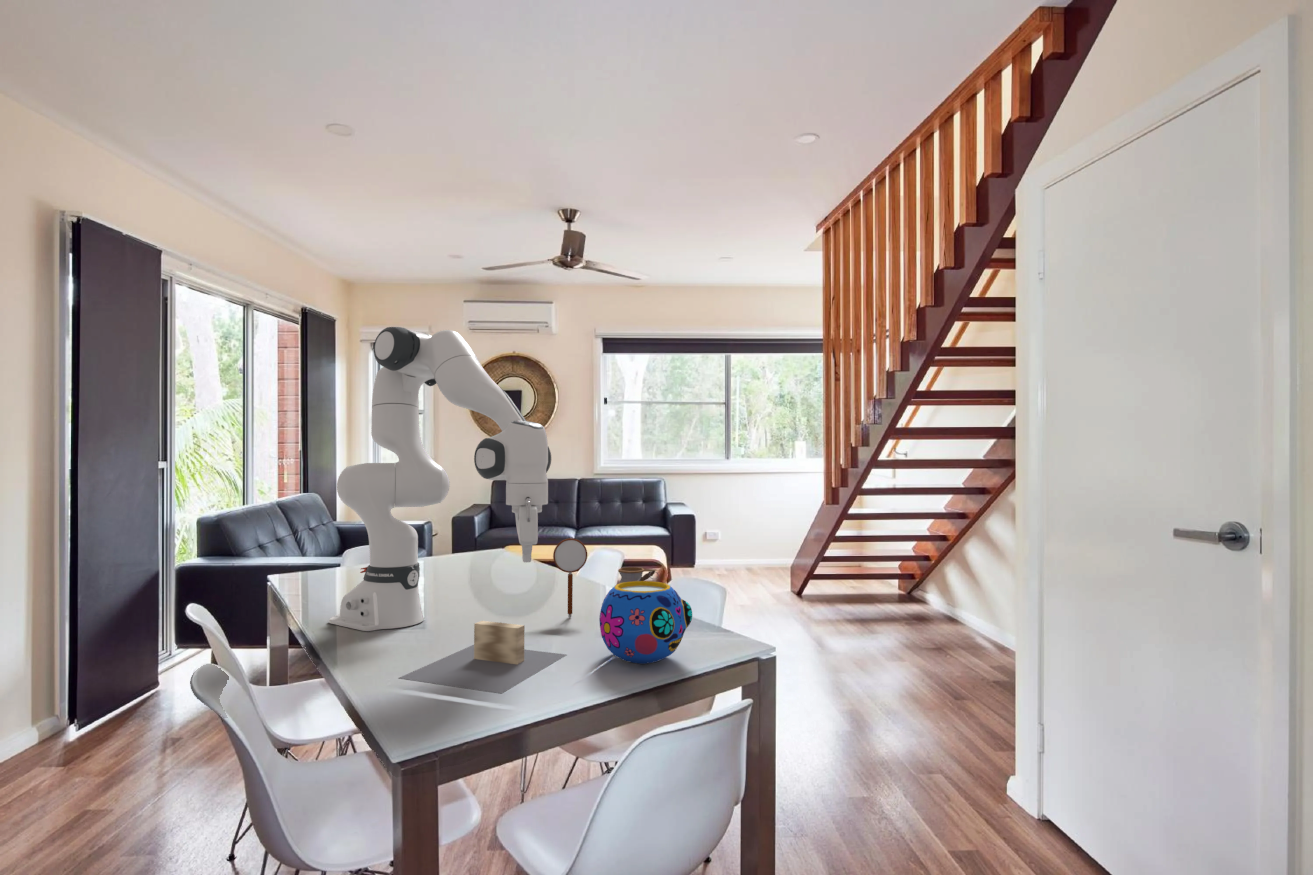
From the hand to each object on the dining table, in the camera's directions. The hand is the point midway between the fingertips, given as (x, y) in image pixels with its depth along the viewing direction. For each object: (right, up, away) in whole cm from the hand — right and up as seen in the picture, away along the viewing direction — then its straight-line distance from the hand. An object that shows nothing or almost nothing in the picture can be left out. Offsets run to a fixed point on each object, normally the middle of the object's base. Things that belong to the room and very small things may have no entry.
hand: (526, 561), depth 146 cm
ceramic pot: (+25, -19, -7) cm, 32 cm away
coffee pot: (+23, -19, +20) cm, 36 cm away
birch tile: (-4, -18, -10) cm, 21 cm away
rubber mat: (-5, -18, -13) cm, 23 cm away
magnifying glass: (+6, -19, +27) cm, 34 cm away
